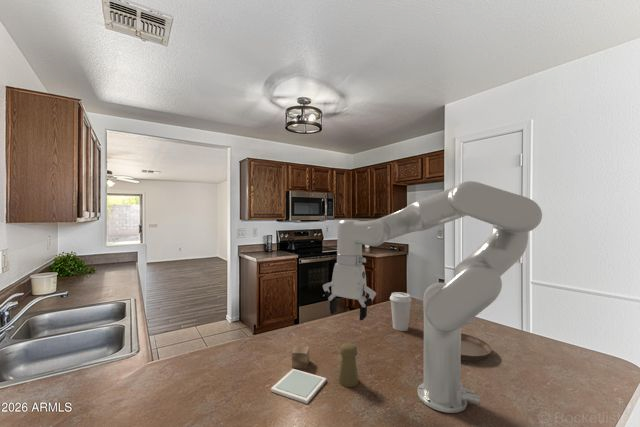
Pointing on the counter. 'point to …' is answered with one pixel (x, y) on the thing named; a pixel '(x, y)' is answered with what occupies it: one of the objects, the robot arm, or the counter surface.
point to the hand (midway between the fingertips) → (347, 315)
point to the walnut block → (300, 357)
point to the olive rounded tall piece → (348, 365)
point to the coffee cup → (400, 310)
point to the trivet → (299, 385)
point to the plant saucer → (473, 348)
